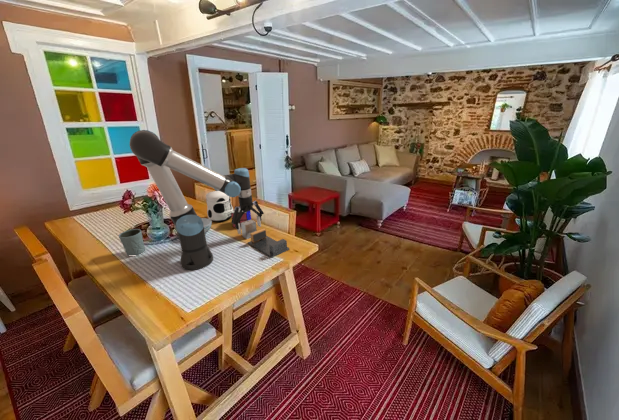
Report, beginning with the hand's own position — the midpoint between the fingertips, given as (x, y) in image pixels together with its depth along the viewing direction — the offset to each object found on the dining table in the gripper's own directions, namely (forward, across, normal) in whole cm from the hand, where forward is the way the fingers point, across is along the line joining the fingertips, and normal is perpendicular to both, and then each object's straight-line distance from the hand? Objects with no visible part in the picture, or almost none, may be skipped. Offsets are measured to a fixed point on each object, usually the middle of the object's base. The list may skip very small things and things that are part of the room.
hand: (249, 229), depth 160 cm
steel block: (+4, 0, 0) cm, 4 cm away
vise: (+4, 0, -19) cm, 19 cm away
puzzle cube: (+4, +6, +19) cm, 20 cm away
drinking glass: (+3, -55, +28) cm, 61 cm away
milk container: (+4, 0, +39) cm, 39 cm away
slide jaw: (+3, 0, -10) cm, 11 cm away
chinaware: (+4, -20, +24) cm, 32 cm away
